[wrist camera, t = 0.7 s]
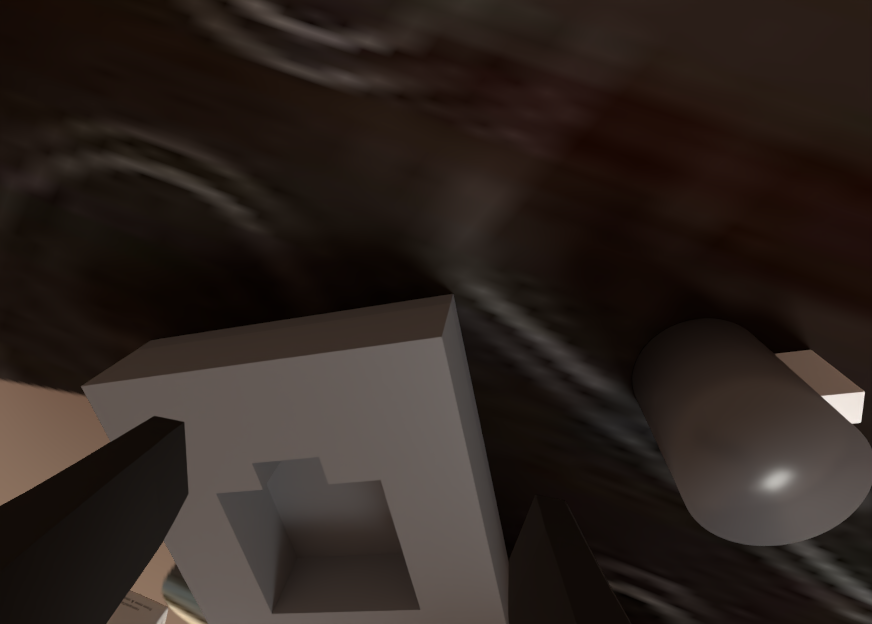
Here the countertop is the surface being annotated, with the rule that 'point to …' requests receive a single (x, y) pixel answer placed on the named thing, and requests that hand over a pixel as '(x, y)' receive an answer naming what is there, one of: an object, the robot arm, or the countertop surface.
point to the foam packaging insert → (325, 467)
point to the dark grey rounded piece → (753, 432)
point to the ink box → (139, 611)
